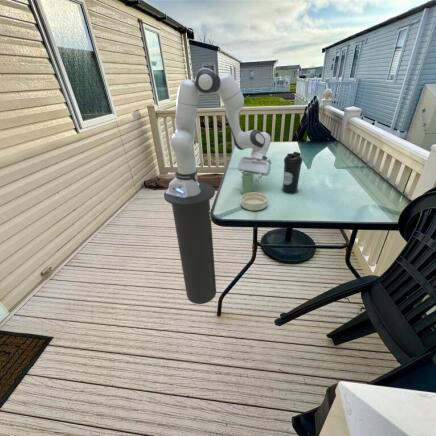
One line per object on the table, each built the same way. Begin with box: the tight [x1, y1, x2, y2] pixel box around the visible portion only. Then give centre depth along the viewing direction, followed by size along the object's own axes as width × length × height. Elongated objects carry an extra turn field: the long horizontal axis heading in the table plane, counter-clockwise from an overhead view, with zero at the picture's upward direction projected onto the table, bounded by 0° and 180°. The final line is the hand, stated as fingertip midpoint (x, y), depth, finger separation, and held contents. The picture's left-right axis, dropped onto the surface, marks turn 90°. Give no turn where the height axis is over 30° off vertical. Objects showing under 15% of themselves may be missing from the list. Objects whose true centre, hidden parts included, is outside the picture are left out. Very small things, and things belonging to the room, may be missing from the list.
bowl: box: [240, 191, 268, 212], centre depth 133 cm, size 14×14×4 cm
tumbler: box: [241, 172, 255, 195], centre depth 144 cm, size 7×7×12 cm
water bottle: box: [282, 151, 304, 195], centre depth 143 cm, size 10×10×23 cm
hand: (249, 179), depth 145 cm, fingers open, 8 cm apart
